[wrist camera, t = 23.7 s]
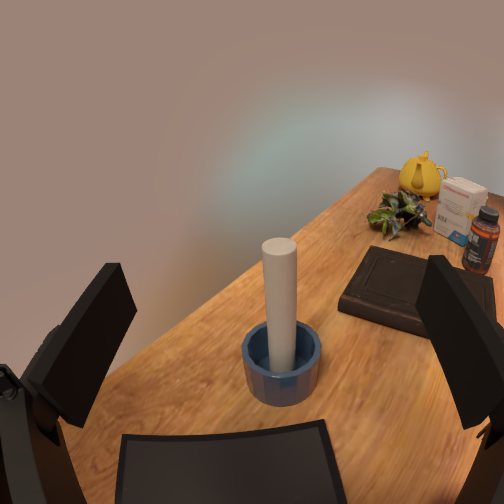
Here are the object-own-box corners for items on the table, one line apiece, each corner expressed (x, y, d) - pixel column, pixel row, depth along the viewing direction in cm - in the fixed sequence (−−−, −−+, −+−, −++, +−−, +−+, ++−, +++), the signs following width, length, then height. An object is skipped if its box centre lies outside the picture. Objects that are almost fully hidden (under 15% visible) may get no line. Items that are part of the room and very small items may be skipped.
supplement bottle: (489, 264, 43) (504, 210, 37) (486, 280, 39) (504, 221, 34) (463, 254, 47) (476, 200, 41) (458, 268, 43) (474, 210, 37)
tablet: (116, 556, 12) (111, 555, 12) (125, 437, 24) (121, 433, 24) (356, 547, 13) (359, 547, 12) (322, 422, 25) (324, 417, 24)
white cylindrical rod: (272, 386, 29) (264, 256, 21) (268, 367, 31) (259, 239, 23) (296, 382, 29) (300, 252, 21) (291, 364, 31) (292, 235, 23)
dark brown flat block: (369, 256, 49) (370, 244, 48) (488, 288, 37) (492, 277, 36) (336, 312, 39) (338, 299, 37) (490, 358, 26) (497, 346, 25)
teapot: (442, 212, 63) (449, 169, 57) (390, 199, 71) (393, 157, 65) (447, 191, 76) (451, 155, 70) (404, 181, 84) (406, 146, 78)
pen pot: (250, 411, 27) (245, 382, 24) (244, 356, 34) (239, 323, 31) (324, 399, 27) (330, 368, 25) (308, 347, 34) (310, 313, 31)
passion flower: (403, 251, 60) (441, 217, 51) (385, 264, 53) (430, 226, 44) (372, 211, 63) (407, 175, 55) (350, 218, 56) (390, 176, 48)
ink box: (478, 238, 51) (489, 188, 45) (462, 247, 49) (474, 192, 43) (451, 222, 58) (459, 175, 52) (432, 230, 56) (440, 178, 50)
